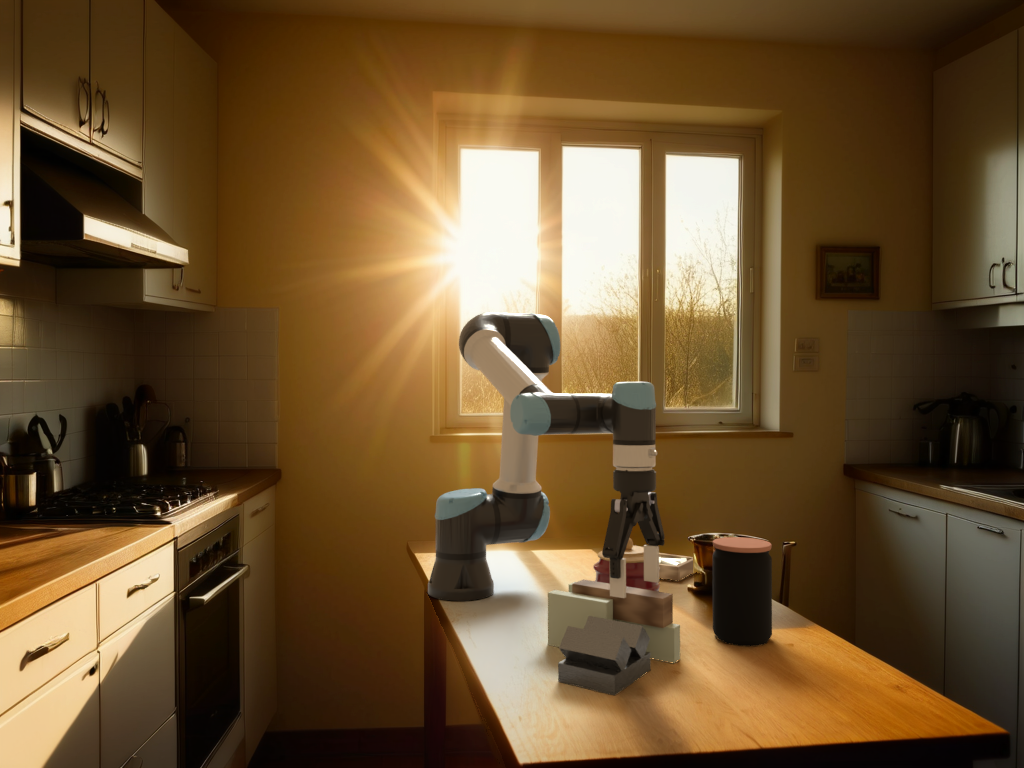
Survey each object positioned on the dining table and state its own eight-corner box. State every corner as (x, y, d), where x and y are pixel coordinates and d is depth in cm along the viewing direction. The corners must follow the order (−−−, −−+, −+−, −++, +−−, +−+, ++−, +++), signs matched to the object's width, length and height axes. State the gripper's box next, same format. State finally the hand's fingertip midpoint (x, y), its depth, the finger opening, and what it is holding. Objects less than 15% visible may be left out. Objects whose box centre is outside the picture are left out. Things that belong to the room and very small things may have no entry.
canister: (618, 641, 145) (618, 546, 145) (580, 622, 156) (580, 534, 156) (673, 631, 151) (673, 540, 151) (633, 614, 162) (633, 529, 162)
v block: (558, 681, 124) (558, 630, 125) (597, 658, 135) (597, 611, 135) (614, 695, 119) (614, 641, 119) (650, 670, 130) (650, 621, 130)
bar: (572, 610, 143) (572, 583, 143) (583, 606, 147) (583, 579, 147) (662, 628, 133) (662, 598, 133) (672, 622, 136) (672, 593, 136)
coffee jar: (772, 632, 150) (772, 539, 150) (771, 650, 140) (771, 549, 140) (715, 627, 153) (714, 535, 154) (710, 643, 143) (710, 545, 143)
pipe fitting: (686, 579, 195) (686, 571, 202) (686, 563, 195) (686, 556, 202) (654, 577, 197) (655, 569, 204) (653, 562, 197) (655, 554, 204)
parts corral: (626, 573, 198) (626, 560, 198) (647, 564, 209) (647, 551, 209) (678, 581, 190) (678, 567, 190) (697, 571, 201) (697, 557, 201)
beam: (547, 644, 143) (547, 592, 143) (575, 630, 151) (575, 581, 151) (665, 670, 130) (665, 612, 130) (688, 653, 138) (688, 599, 138)
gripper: (621, 475, 126) (622, 607, 126) (681, 464, 147) (682, 577, 146) (581, 473, 130) (582, 600, 130) (645, 462, 151) (645, 573, 151)
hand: (635, 588), depth 138 cm, fingers open, 13 cm apart
